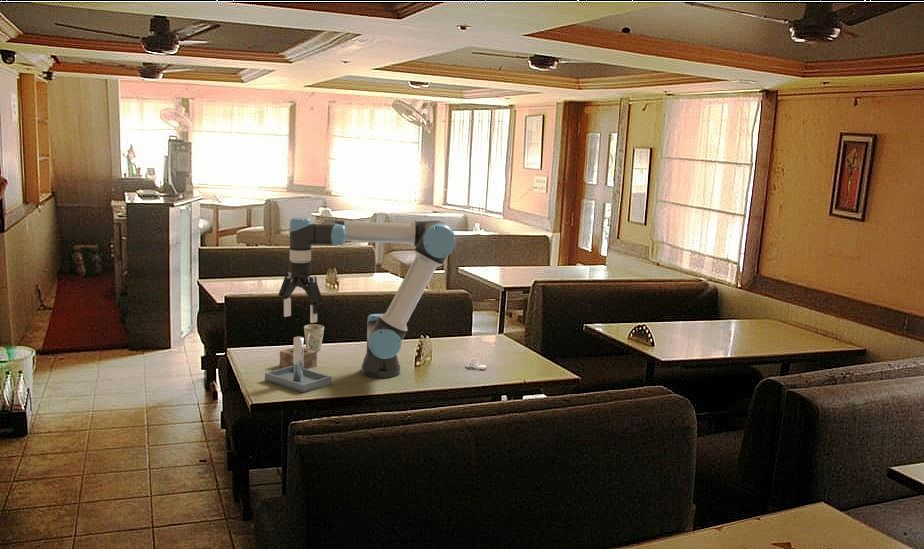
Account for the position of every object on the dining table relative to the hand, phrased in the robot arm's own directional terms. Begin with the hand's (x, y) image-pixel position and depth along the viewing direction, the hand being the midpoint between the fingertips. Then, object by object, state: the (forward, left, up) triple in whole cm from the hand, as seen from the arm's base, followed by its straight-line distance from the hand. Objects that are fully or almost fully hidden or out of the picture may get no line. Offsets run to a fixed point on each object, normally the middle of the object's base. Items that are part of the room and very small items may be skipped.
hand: (300, 319), depth 275 cm
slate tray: (0, 0, -24) cm, 24 cm away
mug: (+27, -33, -24) cm, 49 cm away
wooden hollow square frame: (+15, -14, -24) cm, 32 cm away
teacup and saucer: (-37, -60, -25) cm, 75 cm away
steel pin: (0, 0, -23) cm, 23 cm away
